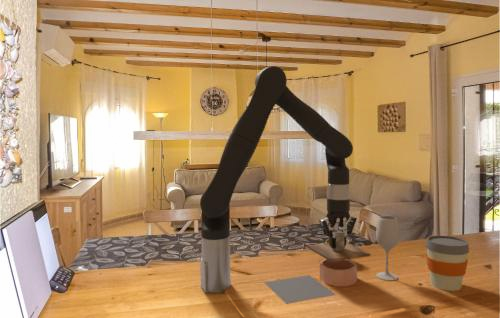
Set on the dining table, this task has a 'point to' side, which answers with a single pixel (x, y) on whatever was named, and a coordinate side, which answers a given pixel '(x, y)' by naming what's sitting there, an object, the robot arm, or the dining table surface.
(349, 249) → the lid
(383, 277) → the wineglass
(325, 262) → the bowl
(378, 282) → the dining table surface
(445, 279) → the reusable coffee cup
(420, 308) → the dining table surface
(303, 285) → the mat
